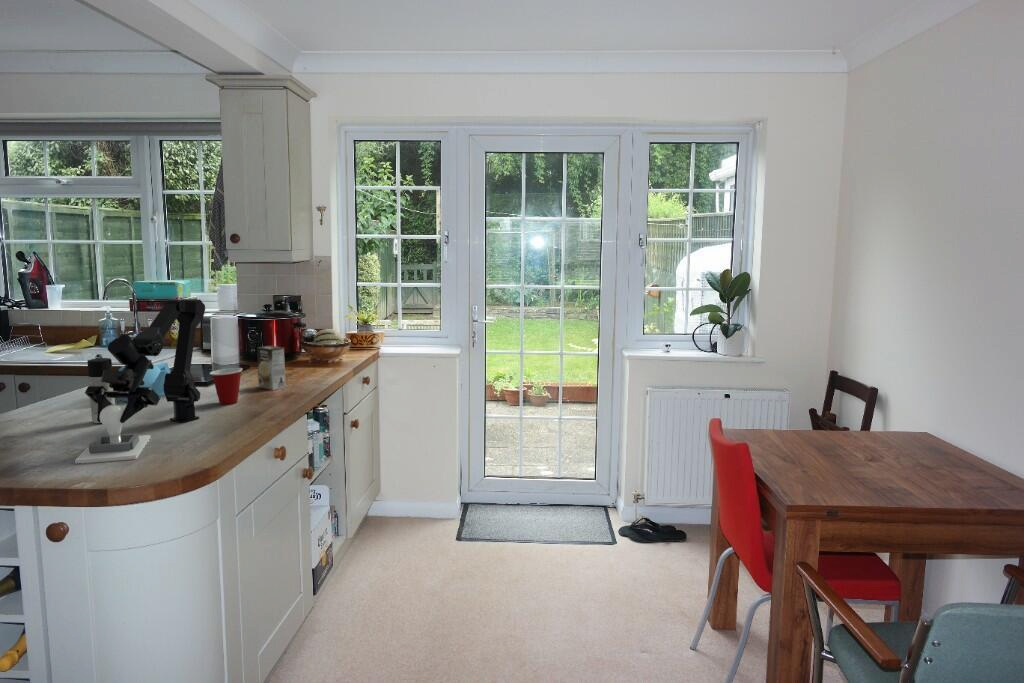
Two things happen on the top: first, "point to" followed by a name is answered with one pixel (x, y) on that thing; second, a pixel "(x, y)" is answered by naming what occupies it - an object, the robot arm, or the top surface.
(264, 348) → the coffee box
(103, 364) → the spray can
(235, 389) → the plastic cup
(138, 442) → the bulb holder
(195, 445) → the top surface
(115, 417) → the lightbulb
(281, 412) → the top surface
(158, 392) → the teapot
